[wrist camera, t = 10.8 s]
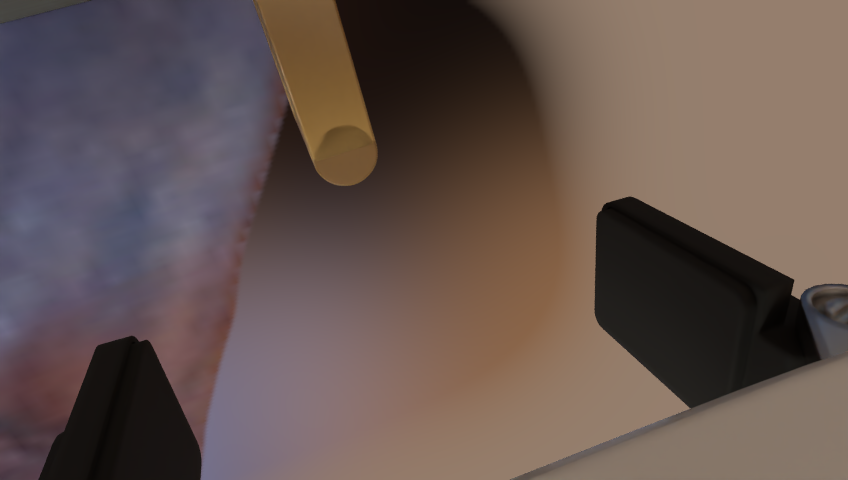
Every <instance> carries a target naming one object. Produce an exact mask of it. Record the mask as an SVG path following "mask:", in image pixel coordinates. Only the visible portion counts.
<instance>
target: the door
mask: <svg viewBox="0 0 848 480" xmlns="http://www.w3.org/2000/svg"><path fill="white" fill-rule="evenodd" d="M87 1H91V0H0V24H1V23H5V22H9V21H13V20H17V19H20V18H24V17H28V16H32V15H36V14H40V13H44V12H48V11H52V10H56V9H60V8H64V7H67V6H71V5H75V4H79V3H83V2H87ZM253 3H254V5H255V8H256V11H257V14H258V17H259V19H260V22H261V25H262V28H263V31H264V33H265V36H266V39H267V42H268V45H269V48H270V50H271V53H272V56H273V59H274V62H275V64H276V67H277V70H278V73H279V76H280V78H281V81H282V84H283V87H284V90H285V92H286V95H287V98H288V101H289V104H290V107H291V109H292V112H293V114H294V117H295V120H296V122H297V124H298V127H299V129H300V132H301V134H302V137H303V139H304V142H305V144H306V146H307V149H308V151H309V154H310V156H311V159H312V161H313V164H314V166H315V168H316V170H317V172H318V173H319V175H321V177H322V178H323V179H325V180H326V181H328V182H330V183H332V184H335V185H340V186H349V185H353V184H357V183H359V182H360V181H363V180H364V179H365V178H366V177H367V176H369V174H370V173H371V172H372V170H373V169H374V167H375V164H376V161H377V156H378V152H377V145H376V141H375V138H374V135H373V131H372V128H371V124H370V120H369V118H368V114H367V110H366V106H365V103H364V99H363V96H362V93H361V89H360V85H359V82H358V78H357V75H356V71H355V69H354V64H353V61H352V58H351V54H350V51H349V47H348V43H347V40H346V37H345V33H344V30H343V26H342V22H341V19H340V15H339V12H338V9H337V5H336V1H335V0H253Z"/></svg>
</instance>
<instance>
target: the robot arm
mask: <svg viewBox="0 0 848 480" xmlns="http://www.w3.org/2000/svg"><path fill="white" fill-rule="evenodd" d="M596 226H597V227H596V268H595V271H596V272H595V316H596V319H597V321H598V323H599V325H600V326H601V327H602V328H603V329H604V330H605V331H606V332H607V333H608V334H609V335H610V336H612V337H613V338H614V339H615V340H616V341H617V342H618V343H619V344H620V345H621V346H623V347H624V348H625V349H626V350H627V351H628V352H629V353H630V354H631V355H632V356H634V357H635V358H636V359H637V360H638V361H639V362H640V363H641V364H642V365H643V366H644V367H646V368H647V369H648V370H649V371H650V372H651V373H652V374H653V375H654V376H656V377H657V378H658V379H659V380H660V381H661V382H662V383H663V384H665V386H667V387H668V388H669V389H670V390H671V391H672V392H673V393H674V394H675V395H676V396H677V397H679V398H680V399H681V400H682V401H683V402H684V403H685V404H686V405H687V406H688V407H690V408H691V409H689V410H686V411H683V412H681V413H678V414H676V415H673V416H671V417H668V418H665V419H663V420H660V421H658V422H655V423H653V424H650V425H647V426H645V427H642V428H640V429H637V430H635V431H632V432H629V433H627V434H624V435H622V436H619V437H617V438H614V439H612V440H609V441H607V442H604V443H602V444H599V445H596V446H594V447H591V448H589V449H586V450H584V451H581V452H579V453H576V454H574V455H571V456H568V457H566V458H563V459H561V460H558V461H556V462H553V463H551V464H548V465H546V466H543V467H541V468H538V469H536V470H533V471H531V472H528V473H525V474H523V475H520V476H518V477H515V478H513V479H510V480H848V285H844V284H823V285H816V286H813V287H811V288H808V289H806V290H805V291H804V293H803V294H802V295H801V298H800V300H799V299H797V298H795V297H794V296H792V295H791V292H792V288H793V283H794V279H792V278H790V277H788V276H786V275H784V274H782V273H780V272H778V271H776V270H774V269H772V268H770V267H768V266H766V265H764V264H762V263H760V262H758V261H756V260H755V259H753V258H751V257H749V256H747V255H745V254H743V253H741V252H739V251H737V250H735V249H733V248H731V247H729V246H727V245H725V244H723V243H721V242H720V241H718V240H716V239H714V238H712V237H710V236H708V235H706V234H704V233H702V232H700V231H698V230H696V229H694V228H692V227H690V226H689V225H686V224H684V223H683V222H681V221H679V220H677V219H675V218H673V217H671V216H669V215H667V214H665V213H663V212H661V211H659V210H657V209H655V208H653V207H651V206H650V205H648V204H646V203H644V202H642V201H640V200H638V199H636V198H634V197H626V198H622V199H619V200H615V201H612V202H609V203H606V204H605V205H604V206H603V208H602V211H600V212H599V213H598V215H597V225H596ZM200 478H201V453H200V449H199V445H198V443H197V440H196V438H195V436H194V434H193V432H192V430H191V428H190V425H189V423H188V421H187V419H186V417H185V415H184V413H183V411H182V408H181V406H180V404H179V402H178V400H177V398H176V396H175V394H174V391H173V389H172V387H171V385H170V383H169V381H168V379H167V377H166V374H165V372H164V370H163V368H162V366H161V364H160V362H159V360H158V357H157V355H156V353H155V351H154V349H153V347H152V345H151V343H150V342H149V341H148V340H144V341H141V342H139V341H138V340H137V338H136V337H134V336H129V337H126V338H122V339H119V340H115V341H111V342H108V343H104V344H101V345H98V346H97V347H96V349H95V352H94V354H93V357H92V360H91V362H90V365H89V367H88V370H87V373H86V375H85V378H84V381H83V383H82V386H81V389H80V391H79V394H78V396H77V399H76V402H75V404H74V407H73V410H72V412H71V415H70V418H69V420H68V423H67V425H66V428H65V431H64V432H62V433H61V434H59V435H58V436H57V437H56V439H55V441H54V442H53V444H52V447H51V450H50V452H49V455H48V457H47V460H46V462H45V465H44V467H43V470H42V472H41V475H40V477H39V480H200Z"/></svg>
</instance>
